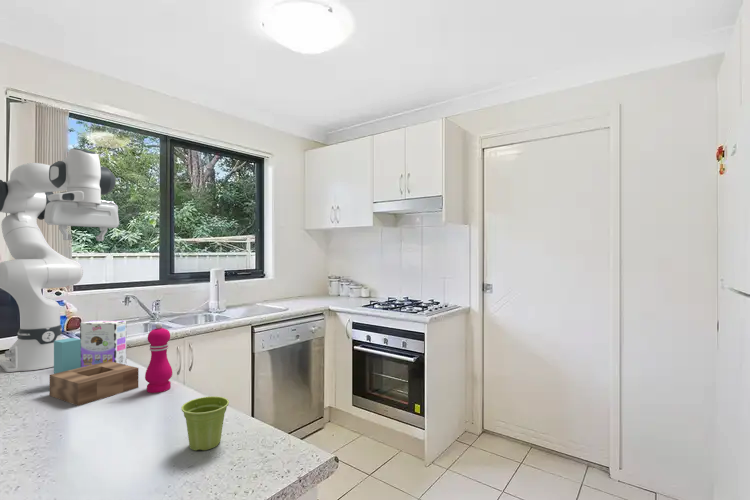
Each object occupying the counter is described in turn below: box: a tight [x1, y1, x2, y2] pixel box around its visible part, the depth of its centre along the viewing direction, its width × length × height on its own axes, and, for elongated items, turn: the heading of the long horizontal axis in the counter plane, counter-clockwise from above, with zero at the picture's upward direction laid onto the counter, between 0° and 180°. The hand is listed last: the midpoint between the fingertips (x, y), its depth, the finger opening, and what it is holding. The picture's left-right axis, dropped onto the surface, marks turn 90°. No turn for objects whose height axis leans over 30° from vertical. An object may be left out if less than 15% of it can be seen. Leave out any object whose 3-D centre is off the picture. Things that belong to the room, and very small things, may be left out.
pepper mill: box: [144, 322, 173, 394], centre depth 117 cm, size 7×7×20 cm
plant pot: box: [180, 395, 230, 451], centre depth 83 cm, size 9×9×9 cm
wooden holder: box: [48, 361, 139, 407], centre depth 115 cm, size 16×16×6 cm
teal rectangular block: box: [53, 337, 81, 374], centre depth 120 cm, size 5×5×14 cm
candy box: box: [79, 320, 127, 367], centre depth 140 cm, size 14×6×16 cm, turn 84°
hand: (84, 240), depth 126 cm, fingers open, 8 cm apart
